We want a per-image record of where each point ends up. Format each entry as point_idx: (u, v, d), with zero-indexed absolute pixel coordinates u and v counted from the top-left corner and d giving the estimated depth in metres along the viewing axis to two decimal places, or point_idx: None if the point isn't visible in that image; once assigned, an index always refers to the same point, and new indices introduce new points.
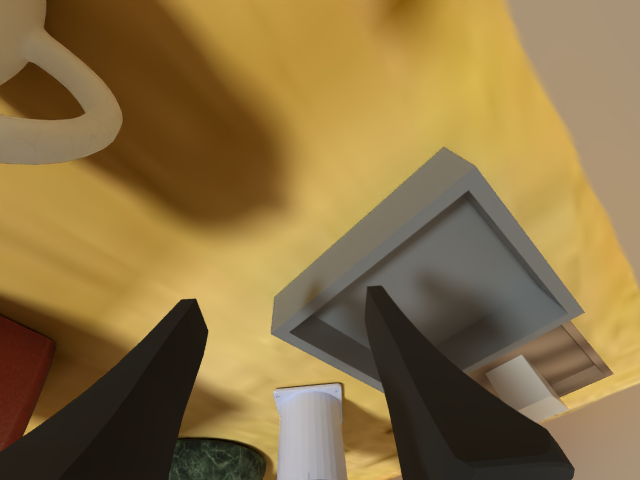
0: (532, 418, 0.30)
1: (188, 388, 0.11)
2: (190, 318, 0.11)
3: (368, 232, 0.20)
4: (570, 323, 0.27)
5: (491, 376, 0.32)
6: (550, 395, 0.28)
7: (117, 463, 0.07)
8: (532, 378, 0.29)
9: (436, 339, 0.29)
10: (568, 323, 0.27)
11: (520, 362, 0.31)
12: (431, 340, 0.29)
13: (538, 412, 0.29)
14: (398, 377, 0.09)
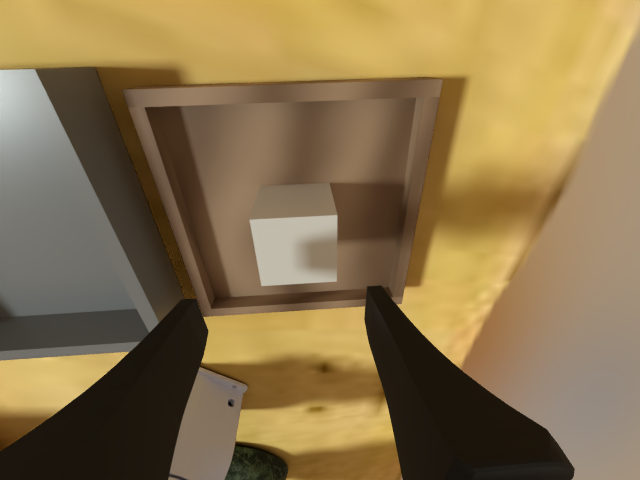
0: (312, 267, 0.16)
1: (188, 388, 0.11)
2: (190, 318, 0.11)
3: None
4: (171, 91, 0.14)
5: None
6: (250, 221, 0.14)
7: (117, 463, 0.07)
8: None
9: None
10: (169, 94, 0.14)
11: None
12: None
13: (299, 254, 0.16)
14: (398, 377, 0.09)
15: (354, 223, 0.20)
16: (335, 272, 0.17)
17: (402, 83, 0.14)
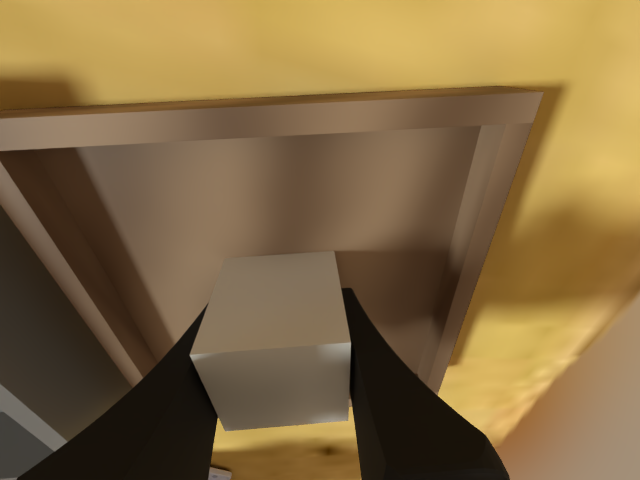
0: (307, 407, 0.10)
1: None
2: None
3: None
4: (37, 122, 0.07)
5: None
6: (193, 355, 0.08)
7: (170, 458, 0.07)
8: None
9: None
10: (34, 128, 0.07)
11: None
12: None
13: (285, 393, 0.09)
14: (356, 380, 0.09)
15: (371, 302, 0.14)
16: (346, 411, 0.10)
17: (468, 100, 0.08)
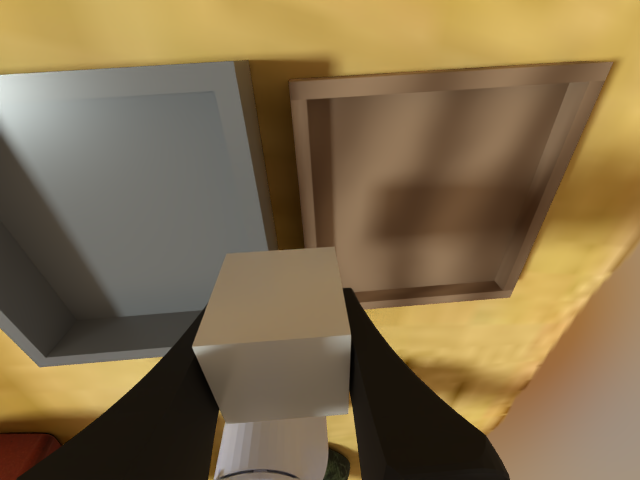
0: (307, 400, 0.10)
1: None
2: None
3: None
4: (337, 82, 0.14)
5: None
6: (195, 347, 0.08)
7: (170, 458, 0.07)
8: None
9: (250, 251, 0.20)
10: (334, 85, 0.14)
11: None
12: None
13: (286, 386, 0.09)
14: (356, 380, 0.09)
15: (475, 216, 0.20)
16: (346, 404, 0.10)
17: (570, 67, 0.14)
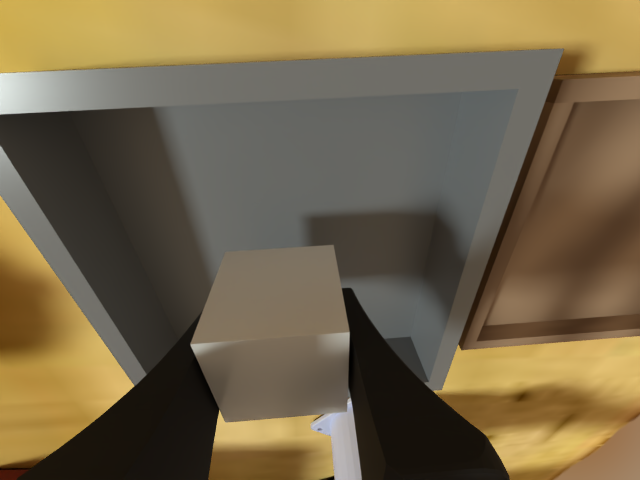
0: (306, 398, 0.10)
1: None
2: None
3: None
4: (622, 80, 0.11)
5: None
6: (193, 345, 0.08)
7: (170, 458, 0.07)
8: None
9: (408, 279, 0.17)
10: (616, 85, 0.11)
11: None
12: (403, 284, 0.17)
13: (285, 384, 0.09)
14: (356, 380, 0.09)
15: None
16: (345, 402, 0.10)
17: None
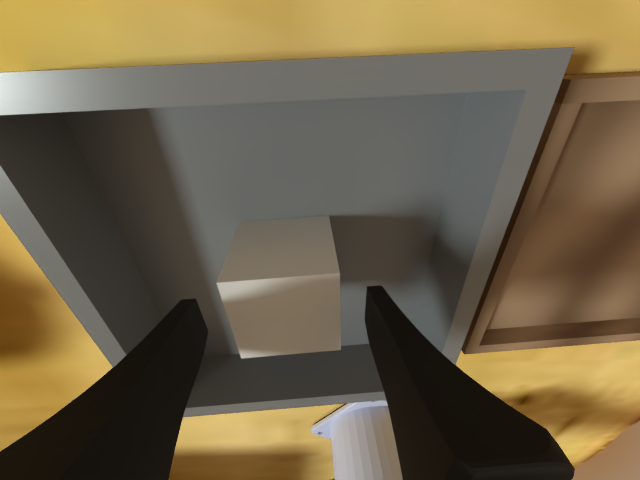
0: (307, 335, 0.12)
1: (188, 388, 0.11)
2: (190, 318, 0.11)
3: None
4: (632, 80, 0.10)
5: None
6: (218, 284, 0.10)
7: (117, 463, 0.07)
8: None
9: (410, 282, 0.17)
10: (626, 85, 0.10)
11: None
12: (404, 288, 0.17)
13: (289, 321, 0.12)
14: (398, 377, 0.09)
15: None
16: (338, 340, 0.12)
17: None
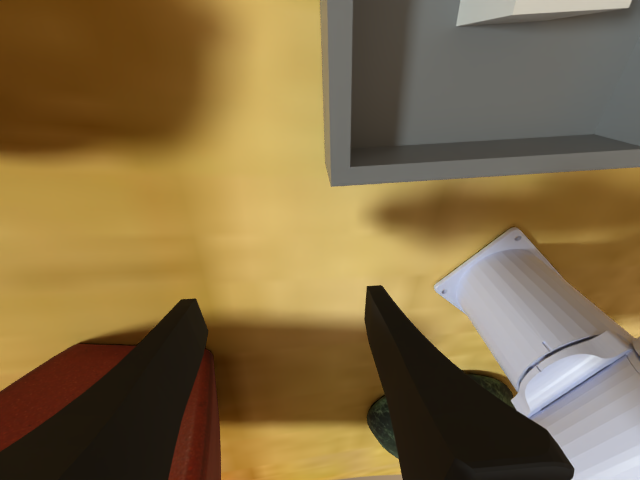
0: None
1: (188, 388, 0.11)
2: (190, 318, 0.11)
3: None
4: None
5: (463, 13, 0.14)
6: None
7: (117, 463, 0.07)
8: None
9: (627, 26, 0.15)
10: None
11: None
12: (618, 36, 0.15)
13: None
14: (398, 377, 0.09)
15: None
16: None
17: None
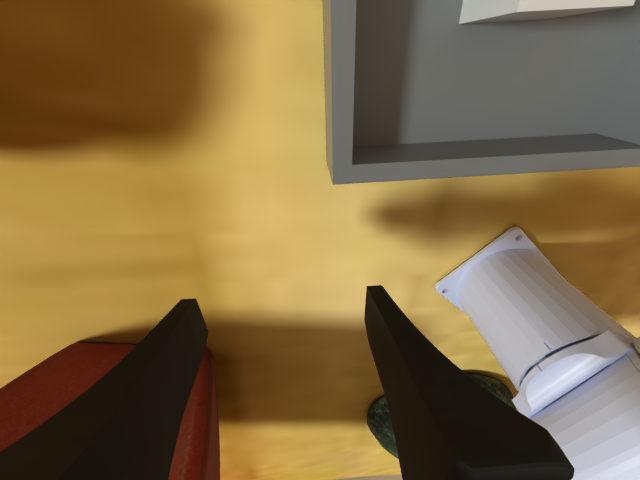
0: None
1: (188, 388, 0.11)
2: (190, 318, 0.11)
3: None
4: None
5: (466, 11, 0.14)
6: None
7: (117, 463, 0.07)
8: None
9: (630, 25, 0.15)
10: None
11: None
12: (621, 35, 0.15)
13: None
14: (398, 377, 0.09)
15: None
16: None
17: None
